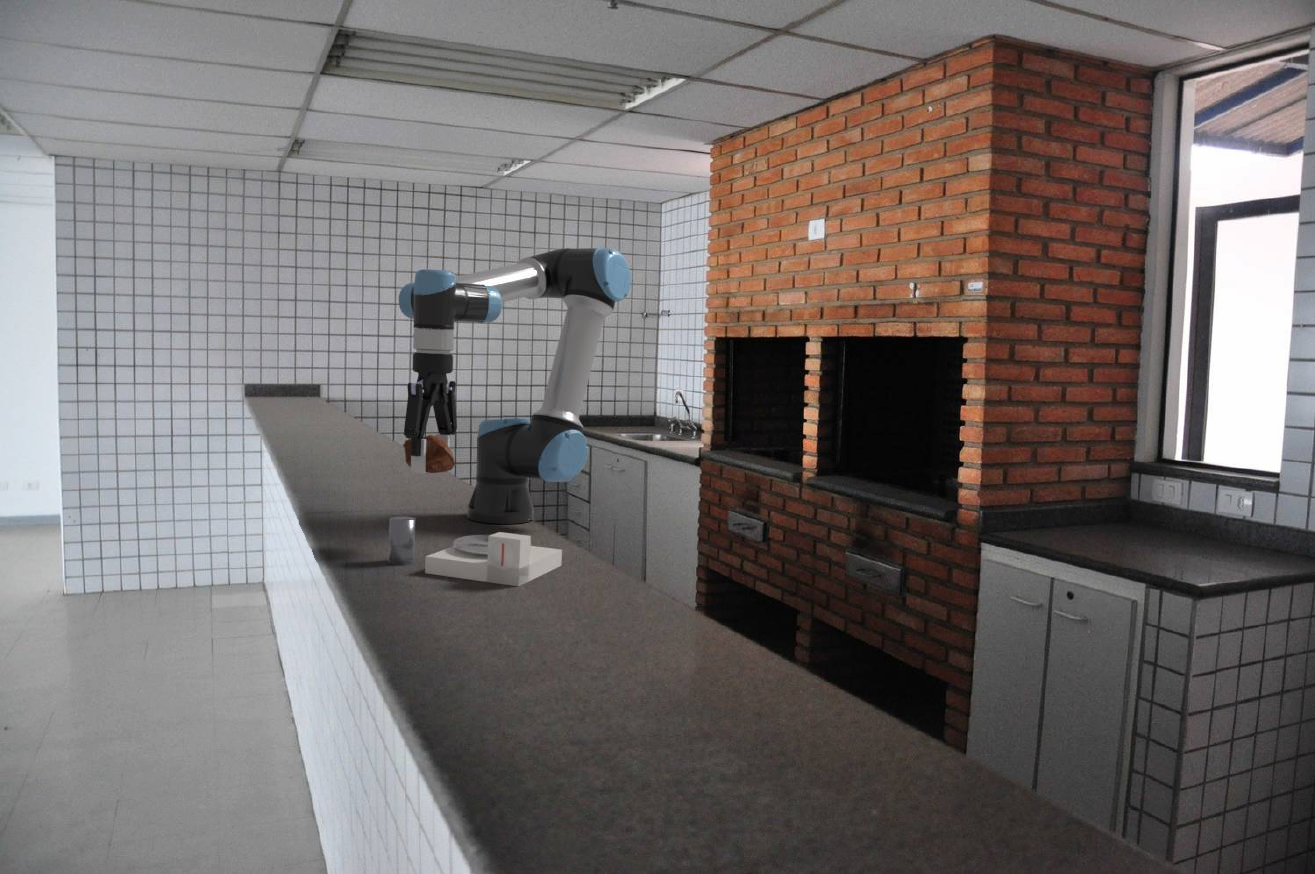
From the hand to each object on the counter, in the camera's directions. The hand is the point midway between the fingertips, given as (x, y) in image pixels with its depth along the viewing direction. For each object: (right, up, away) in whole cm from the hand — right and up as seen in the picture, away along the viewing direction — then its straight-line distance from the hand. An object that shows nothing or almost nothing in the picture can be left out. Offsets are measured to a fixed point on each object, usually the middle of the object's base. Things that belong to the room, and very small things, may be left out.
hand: (430, 470), depth 193 cm
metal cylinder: (-3, -16, -11) cm, 20 cm away
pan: (+14, -14, -11) cm, 22 cm away
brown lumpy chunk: (0, -1, 0) cm, 1 cm away
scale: (+14, -17, -12) cm, 26 cm away
